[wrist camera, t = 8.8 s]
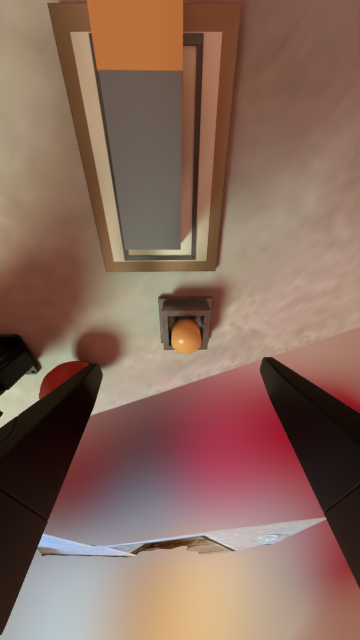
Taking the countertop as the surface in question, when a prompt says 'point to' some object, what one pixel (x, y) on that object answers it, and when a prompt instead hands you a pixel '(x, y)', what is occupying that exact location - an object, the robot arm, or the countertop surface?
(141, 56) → the grey orange block
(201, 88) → the picture frame
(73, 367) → the onion
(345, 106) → the countertop surface
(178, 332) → the button
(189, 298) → the button collar
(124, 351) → the countertop surface
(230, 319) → the countertop surface
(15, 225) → the countertop surface
